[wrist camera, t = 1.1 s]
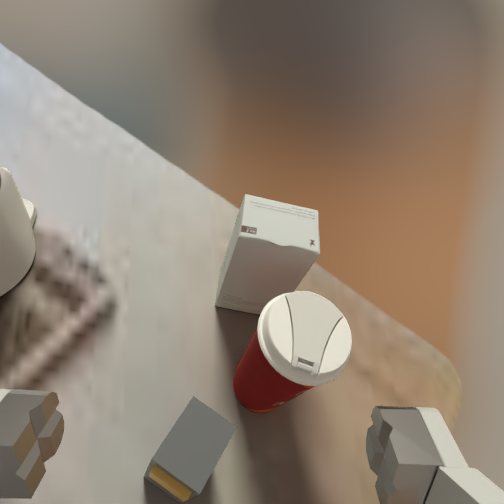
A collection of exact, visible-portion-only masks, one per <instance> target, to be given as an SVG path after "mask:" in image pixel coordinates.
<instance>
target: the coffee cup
mask: <svg viewBox="0 0 504 504" xmlns="http://www.w3.org/2000/svg"><path fill="white" fill-rule="evenodd" d="M351 345H352V338H351V332H350V328H349V325H348V323H347V321H346V318H345V317H344V316H343V314H342V313H341V312H340V311H339V310H338V309H337V307H336V306H335V305H334V304H333V303H331V302H330V301H329V300H328V299H326V298H324V297H322V296H320V295H318V294H315V293H312V292H309V291H296V292H291V293H285V294H282V295H279V296H277V297H275V298H273V299H272V300H271V301H270V302H268V304H267V305H266V306H265V307H264V309H263V310H262V312H261V314H260V317H259V320H258V327H257V330H256V332H255V334H254V336H253V338H252V340H251V341H250V343H249V345H248V347H247V349H246V351H245V353H244V355H243V357H242V359H241V361H240V363H239V365H238V367H237V369H236V372H235V375H234V379H233V387H234V392H235V395H236V397H237V399H238V400H239V401H240V403H241V404H242V405H243V406H244V407H246V408H247V409H249V410H251V411H254V412H268V411H271V410H273V409H275V408H277V407H279V406H281V405H283V404H284V403H286V402H288V401H290V400H291V399H293V398H295V397H297V396H298V395H300V394H302V393H304V392H305V391H307V390H309V389H310V388H312V387H314V386H319V385H323V384H327V383H329V382H331V381H333V380H335V379H336V378H337V377H338V376H340V374H341V373H342V372H343V371H344V369H345V367H346V365H347V363H348V360H349V355H350V351H351Z"/></svg>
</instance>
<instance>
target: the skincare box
mask: <svg viewBox="0 0 504 504" xmlns="http://www.w3.org/2000/svg"><path fill="white" fill-rule="evenodd" d="M319 255H320V240H319V225H318V211H317V210H313V209H308V208H304V207H300V206H295V205H291V204H286V203H281V202H277V201H273V200H269V199H264V198H260V197H256V196H252V195H248V194H245V196H244V199H243V202H242V205H241V208H240V211H239V213H238V216H237V219H236V223H235V226H234V229H233V232H232V235H231V239H230V242H229V245H228V248H227V251H226V254H225V257H224V260H223V263H222V266H221V270H220V276H219V283H218V289H217V296H216V302H215V306H217V307H223V308H228V309H233V310H238V311H243V312H249V313H254V314H261V312H262V310H263V309H264V307H265V306H266V305H267V304H268V302H270V301H271V300H272V299H273V298H275V297H277V296H279V295H282V294H285V293H291V292H294V290H295V289H296V288H297V286H298V285H299V283H300V282H301V280H302V279H303V277H304V276H305V275H306V273H307V272H308V270H309V269H310V267H311V266H312V264H313V263H314V262H315V260H316V259H317V257H318V256H319Z"/></svg>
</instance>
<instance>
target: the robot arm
mask: <svg viewBox="0 0 504 504" xmlns="http://www.w3.org/2000/svg"><path fill="white" fill-rule="evenodd" d="M36 214H37V211H36V208H35V206H34V204H33V203H32V202H30V201H28V200H26V199H23V198H21V195H20V193H19V191H18V188H17V186H16V184H15V182H14V179H13V177H12V175H11V173H10V171H9V170H8V169H7V168H2V167H1V166H0V296H2V295H3V294H5V293H6V292H8V291H9V290H10V289H12V288H13V287H14V286H15V285H16V284H17V283H19V282H20V280H21V279H22V278H23V277H24V276H25V275H26V273H27V272H28V270H29V268H30V267H31V265H32V262H33V260H34V256H35V249H36V246H35V239H34V235H33V230H32V226H33V224H34V221H35V218H36ZM58 404H59V400H58V397H57V393H54V392H47V391H33V390H19V389H0V498H30V499H31V498H32V496H33V494H34V492H35V490H36V488H37V487H38V485H39V483H40V481H41V479H42V477H43V476H44V474H45V472H46V470H45V465H44V462H45V461H47V460H48V459H49V458H51V457H52V456H53V455H55V453H56V451H57V449H58V447H59V445H60V443H61V440H62V436H63V432H64V420H63V415H62V414H61V413H60V412H58V411H57V410H56V407H57V405H58ZM371 417H372V421H373V425H372V426H371V427H370V428H368V432H367V437H366V451H367V457H368V462H369V465H370V469H371V470H372V471H373V472H374V473H375V474H376V475H377V476H378V477H377V481H376V485H375V487H376V491H377V495H378V498H379V502H380V504H504V491H503V490H501V489H500V488H499V487H498V486H496V485H495V484H494V483H493V482H492V481H490V480H489V479H488V478H487V477H486V476H484V475H483V474H482V473H481V472H479V471H478V470H477V469H476V468H469V466H468V465H467V463H466V461H465V459H464V457H463V455H462V453H461V451H460V450H459V448H458V446H457V444H456V442H455V440H454V439H453V436H452V435H451V433H450V431H449V429H448V427H447V425H446V423H445V421H444V420H443V418H442V416H441V414H440V412H439V411H438V410H437V409H436V408H423V407H415V408H414V407H399V406H375V407H374V409H373V411H372V415H371Z"/></svg>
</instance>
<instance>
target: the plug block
mask: <svg viewBox="0 0 504 504" xmlns="http://www.w3.org/2000/svg"><path fill="white" fill-rule="evenodd" d="M236 428H237V427H236V426H235V425H234V424H232V423H231V422H229V421H228V420H226V419H225V418H224V417H222V416H221V415H219V414H218V413H216V412H215V411H214V410H212V409H211V408H209V407H208V406H206V405H205V404H204V403H202V402H201V401H199V400H198V399H197V398H195V397H194V396H193V398H192V399H191V401H190V402H189V404H188V405H187V407H186V408H185V410H184V411H183V413H182V414H181V416H180V417H179V419H178V420H177V422H176V423H175V425H174V426H173V428H172V429H171V431H170V432H169V434H168V435H167V437H166V438H165V440H164V441H163V443H162V444H161V446H160V447H159V449H158V450H157V452H156V453H155V455H154V456H153V458H152V459H151V462H150V464H149V466H148V468H147V471H146V473H145V475H144V478H146V479H147V480H148V481H150V482H151V483H152V484H154V485H155V486H156V487H158V488H159V489H160V490H162V491H163V492H164V493H166V494H167V495H168V496H170V497H171V498H173V499H174V500H175V501H177V502H178V503H179V504H180V503H182V502H185V501H187V500H189V499H191V498H193V497H195V496H197V495H199V494H200V493H201V491H202V489H203V488H204V486H205V484H206V482H207V480H208V479H209V477H210V475H211V473H212V471H213V469H214V468H215V466H216V464H217V462H218V460H219V459H220V457H221V455H222V453H223V451H224V449H225V448H226V446H227V444H228V442H229V440H230V439H231V437H232V435H233V433H234V431H235V430H236Z"/></svg>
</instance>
